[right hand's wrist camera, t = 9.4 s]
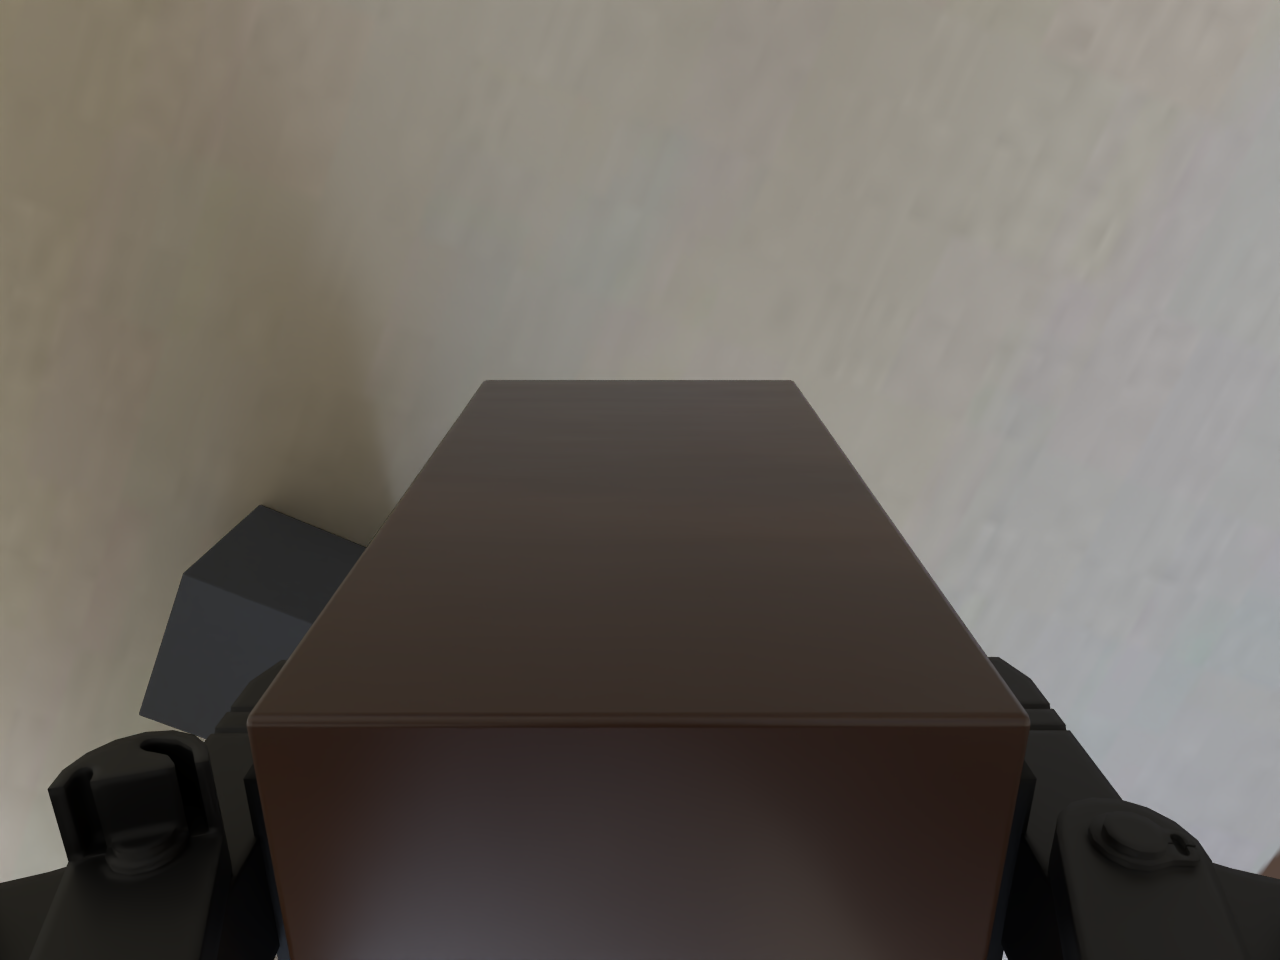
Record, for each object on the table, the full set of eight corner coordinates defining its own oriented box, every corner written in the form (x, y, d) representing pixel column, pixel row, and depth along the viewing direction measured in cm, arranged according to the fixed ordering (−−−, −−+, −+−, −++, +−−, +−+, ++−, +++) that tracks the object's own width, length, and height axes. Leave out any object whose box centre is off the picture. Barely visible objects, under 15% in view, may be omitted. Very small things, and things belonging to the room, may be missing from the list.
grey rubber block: (259, 503, 28) (182, 572, 23) (406, 563, 29) (360, 641, 24) (217, 627, 29) (137, 715, 25) (357, 680, 30) (305, 776, 25)
